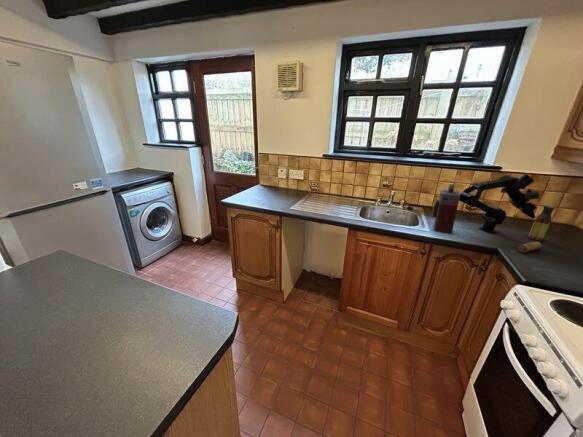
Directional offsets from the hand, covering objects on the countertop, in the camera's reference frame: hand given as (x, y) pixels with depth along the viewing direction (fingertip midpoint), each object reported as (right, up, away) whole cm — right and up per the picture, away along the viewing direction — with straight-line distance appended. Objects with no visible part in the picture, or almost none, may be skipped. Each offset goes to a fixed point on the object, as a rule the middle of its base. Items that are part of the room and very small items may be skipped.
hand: (530, 215), depth 140 cm
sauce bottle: (+3, -14, +1) cm, 14 cm away
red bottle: (-47, -8, +7) cm, 49 cm away
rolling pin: (-13, -19, -12) cm, 26 cm away
